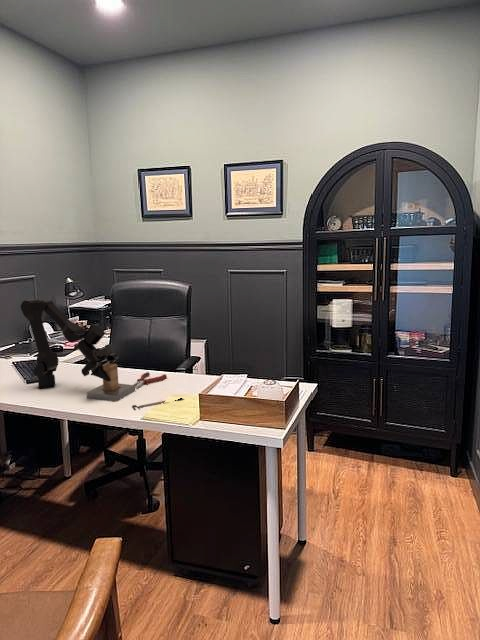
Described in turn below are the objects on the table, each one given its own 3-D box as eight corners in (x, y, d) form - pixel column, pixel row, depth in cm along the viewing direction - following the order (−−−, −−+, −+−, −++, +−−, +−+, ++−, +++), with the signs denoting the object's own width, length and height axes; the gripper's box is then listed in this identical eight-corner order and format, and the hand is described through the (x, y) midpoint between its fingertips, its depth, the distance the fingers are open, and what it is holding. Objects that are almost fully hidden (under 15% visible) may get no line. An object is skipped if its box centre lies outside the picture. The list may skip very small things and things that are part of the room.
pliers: (121, 388, 200) (121, 383, 199) (147, 376, 218) (147, 371, 218) (143, 392, 196) (143, 386, 195) (167, 379, 214) (167, 373, 213)
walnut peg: (103, 395, 190) (101, 366, 188) (110, 391, 194) (108, 363, 192) (112, 396, 189) (110, 367, 187) (118, 392, 193) (117, 364, 191)
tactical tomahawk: (135, 415, 171) (135, 412, 171) (131, 408, 177) (131, 405, 177) (188, 404, 180) (188, 402, 180) (182, 398, 186) (182, 395, 186)
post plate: (87, 397, 188) (86, 392, 187) (107, 387, 201) (107, 382, 200) (115, 401, 183) (115, 395, 182) (135, 390, 196) (134, 385, 195)
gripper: (85, 344, 180) (110, 373, 178) (113, 334, 198) (136, 361, 196) (70, 361, 184) (95, 390, 183) (99, 351, 202) (122, 377, 200)
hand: (113, 379), depth 190 cm, fingers closed on walnut peg, 4 cm apart
